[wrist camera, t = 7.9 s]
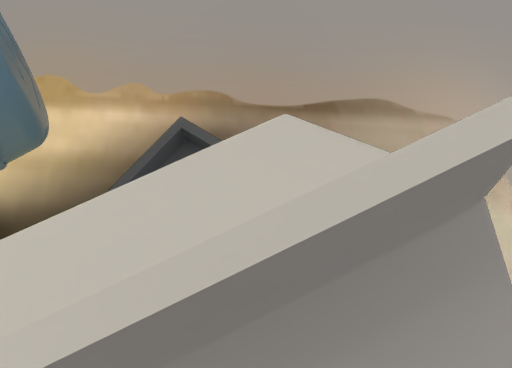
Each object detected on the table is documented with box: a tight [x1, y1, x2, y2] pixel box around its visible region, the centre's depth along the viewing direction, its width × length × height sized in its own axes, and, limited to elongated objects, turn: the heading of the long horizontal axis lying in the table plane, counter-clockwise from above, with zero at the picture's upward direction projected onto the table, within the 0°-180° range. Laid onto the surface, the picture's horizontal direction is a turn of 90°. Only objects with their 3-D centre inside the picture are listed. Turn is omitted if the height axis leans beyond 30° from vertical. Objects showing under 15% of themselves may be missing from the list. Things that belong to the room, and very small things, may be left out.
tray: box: [106, 117, 222, 193], centre depth 38 cm, size 14×14×3 cm
